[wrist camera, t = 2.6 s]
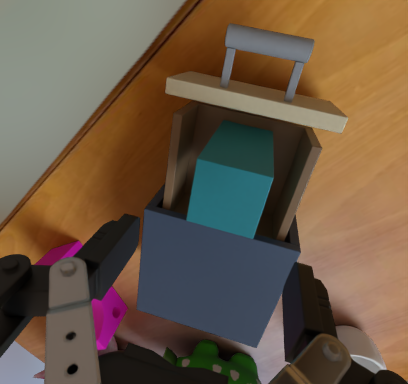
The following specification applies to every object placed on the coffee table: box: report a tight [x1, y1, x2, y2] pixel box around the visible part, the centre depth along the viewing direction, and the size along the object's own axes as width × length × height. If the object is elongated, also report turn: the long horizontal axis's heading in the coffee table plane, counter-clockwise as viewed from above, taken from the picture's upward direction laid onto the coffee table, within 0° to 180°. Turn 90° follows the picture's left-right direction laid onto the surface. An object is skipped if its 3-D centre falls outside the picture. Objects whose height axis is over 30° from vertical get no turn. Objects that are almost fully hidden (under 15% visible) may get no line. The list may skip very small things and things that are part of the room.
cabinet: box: [137, 184, 301, 348], centre depth 32 cm, size 15×15×9 cm
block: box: [186, 120, 274, 239], centre depth 23 cm, size 5×5×11 cm
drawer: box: [163, 23, 348, 242], centre depth 25 cm, size 18×14×7 cm
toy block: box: [35, 241, 128, 350], centre depth 43 cm, size 15×6×8 cm, turn 25°
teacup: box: [336, 325, 387, 374], centre depth 37 cm, size 10×8×5 cm
